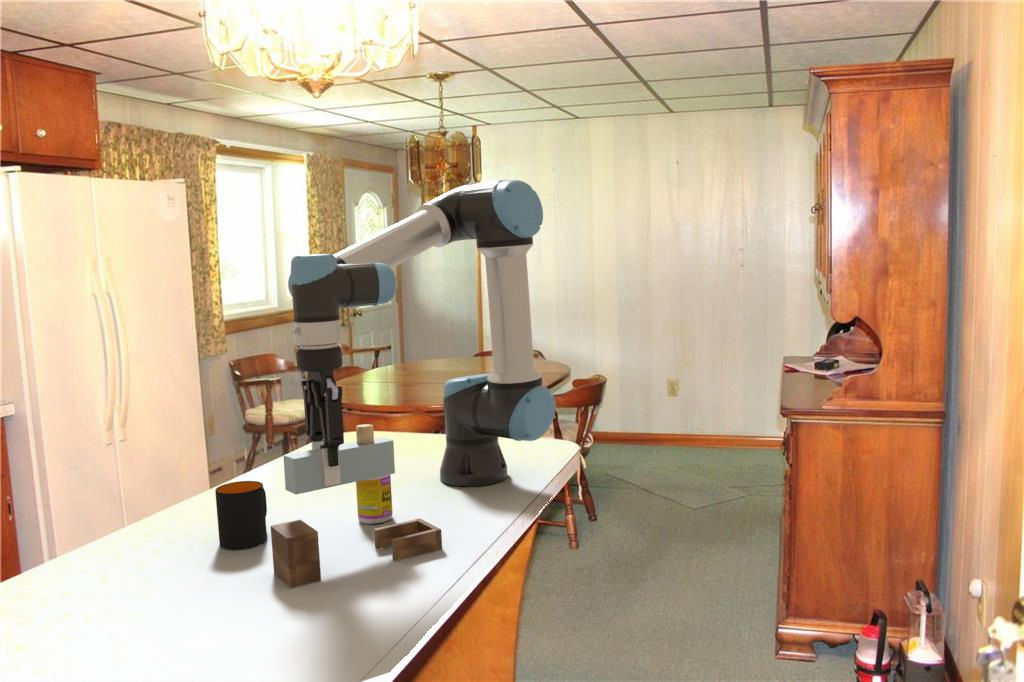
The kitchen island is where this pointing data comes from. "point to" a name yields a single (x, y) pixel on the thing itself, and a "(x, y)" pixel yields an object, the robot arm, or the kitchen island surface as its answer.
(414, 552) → the brown wooden u-shaped frame
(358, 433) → the slat
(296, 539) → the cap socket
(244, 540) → the mug
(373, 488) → the supplement bottle
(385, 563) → the kitchen island surface
